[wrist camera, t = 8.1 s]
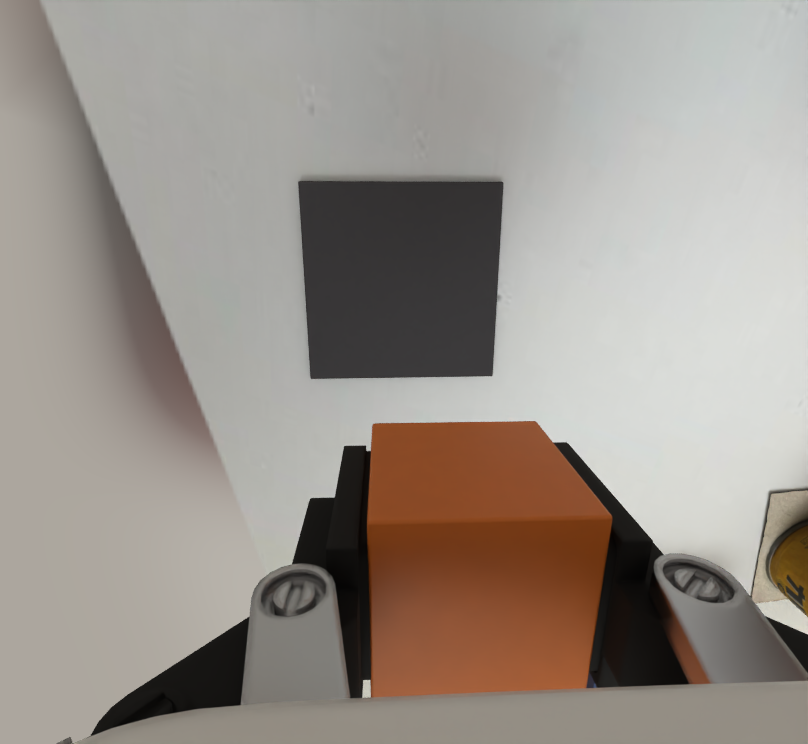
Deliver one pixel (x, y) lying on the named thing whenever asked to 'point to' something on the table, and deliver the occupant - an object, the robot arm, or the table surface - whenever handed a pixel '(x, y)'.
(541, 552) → the orange cube
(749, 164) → the table surface
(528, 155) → the table surface
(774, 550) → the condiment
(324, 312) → the mat
